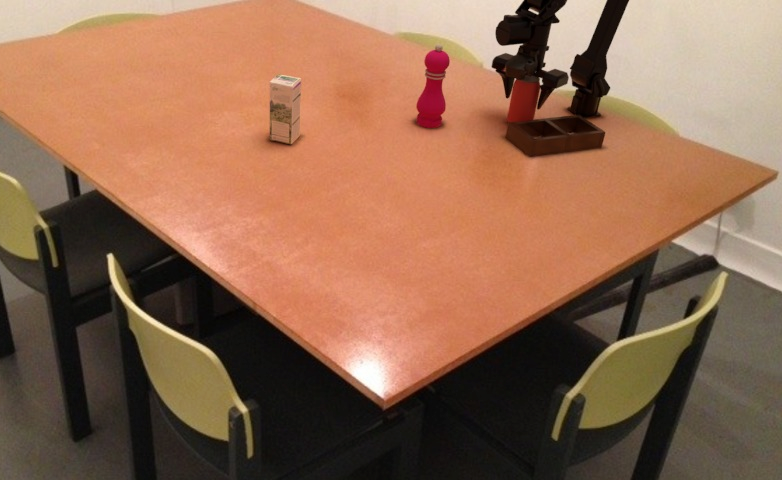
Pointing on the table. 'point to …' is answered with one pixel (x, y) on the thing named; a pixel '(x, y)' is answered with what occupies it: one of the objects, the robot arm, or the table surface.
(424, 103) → the pepper mill
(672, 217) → the table surface
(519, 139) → the can rack
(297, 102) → the syrup box
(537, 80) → the beer can
